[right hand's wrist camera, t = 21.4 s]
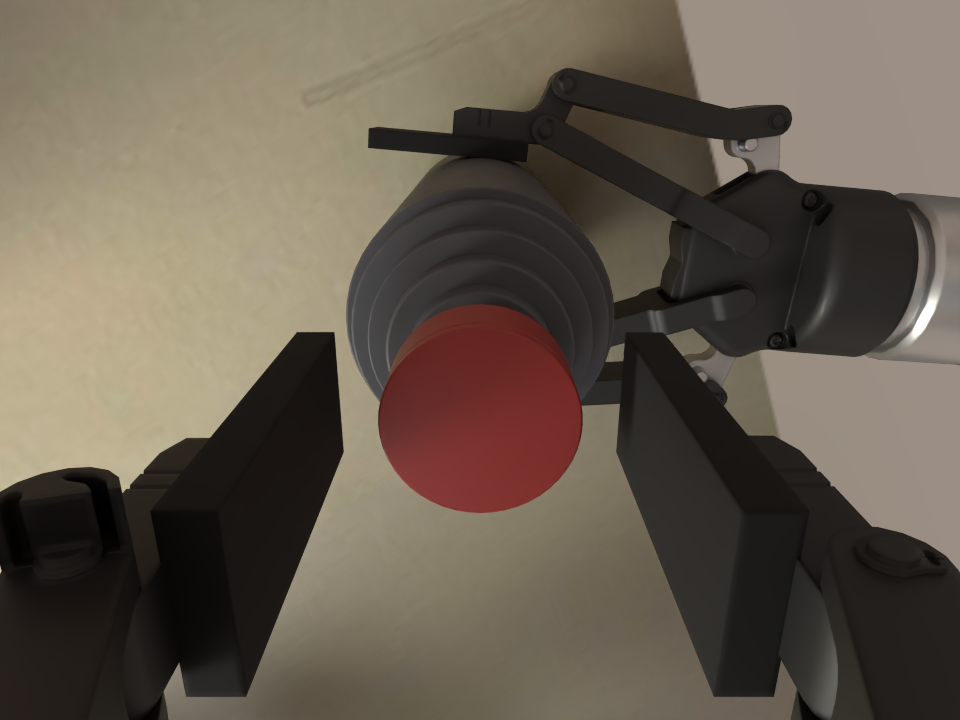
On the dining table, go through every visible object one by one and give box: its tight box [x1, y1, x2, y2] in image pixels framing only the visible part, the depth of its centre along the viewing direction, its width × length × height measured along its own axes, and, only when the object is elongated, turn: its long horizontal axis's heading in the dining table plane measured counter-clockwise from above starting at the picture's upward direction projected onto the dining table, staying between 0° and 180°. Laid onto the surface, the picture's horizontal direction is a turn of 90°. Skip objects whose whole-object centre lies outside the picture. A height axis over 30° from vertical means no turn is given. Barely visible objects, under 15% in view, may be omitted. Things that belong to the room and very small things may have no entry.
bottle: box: [346, 155, 614, 402], centre depth 25 cm, size 7×7×24 cm
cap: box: [378, 304, 583, 513], centre depth 14 cm, size 4×4×2 cm
